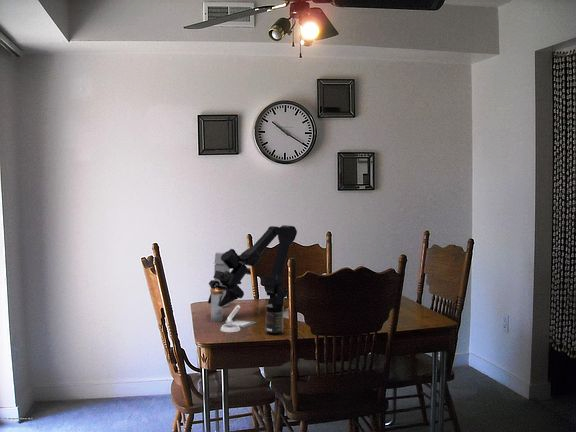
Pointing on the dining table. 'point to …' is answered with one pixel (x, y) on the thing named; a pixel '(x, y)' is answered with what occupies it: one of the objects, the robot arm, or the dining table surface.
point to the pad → (242, 323)
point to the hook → (231, 322)
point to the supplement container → (274, 319)
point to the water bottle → (220, 268)
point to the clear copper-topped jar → (216, 304)
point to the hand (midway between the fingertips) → (214, 304)
